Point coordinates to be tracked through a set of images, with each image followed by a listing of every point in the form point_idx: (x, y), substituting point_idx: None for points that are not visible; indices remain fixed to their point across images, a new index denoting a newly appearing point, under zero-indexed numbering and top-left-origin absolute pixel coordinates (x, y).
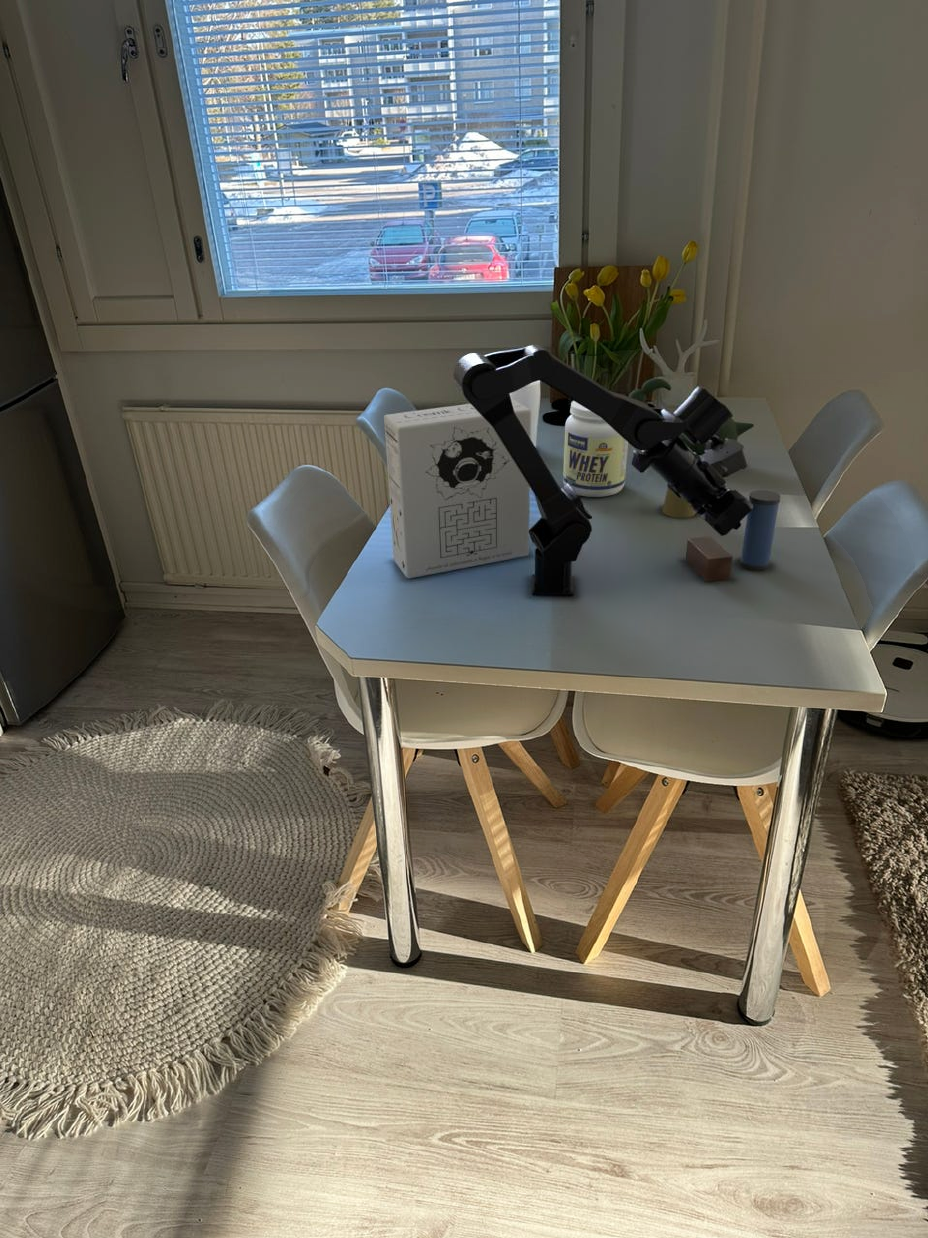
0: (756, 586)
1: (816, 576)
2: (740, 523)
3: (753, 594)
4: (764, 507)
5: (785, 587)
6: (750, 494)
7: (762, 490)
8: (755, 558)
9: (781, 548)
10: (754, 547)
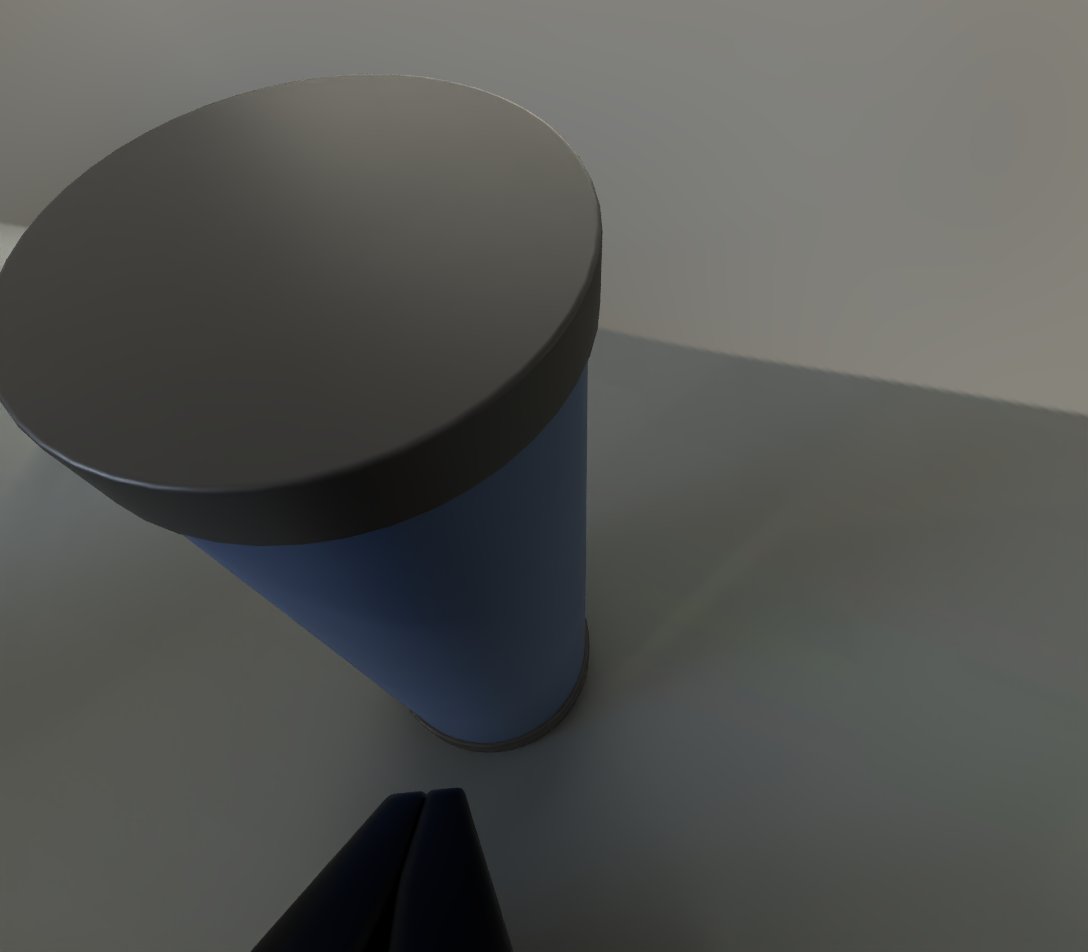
0: (827, 769)
1: (685, 388)
2: (468, 810)
3: (968, 849)
4: (579, 397)
5: (828, 583)
6: (123, 464)
7: (71, 208)
8: (575, 667)
9: None
10: (565, 662)
